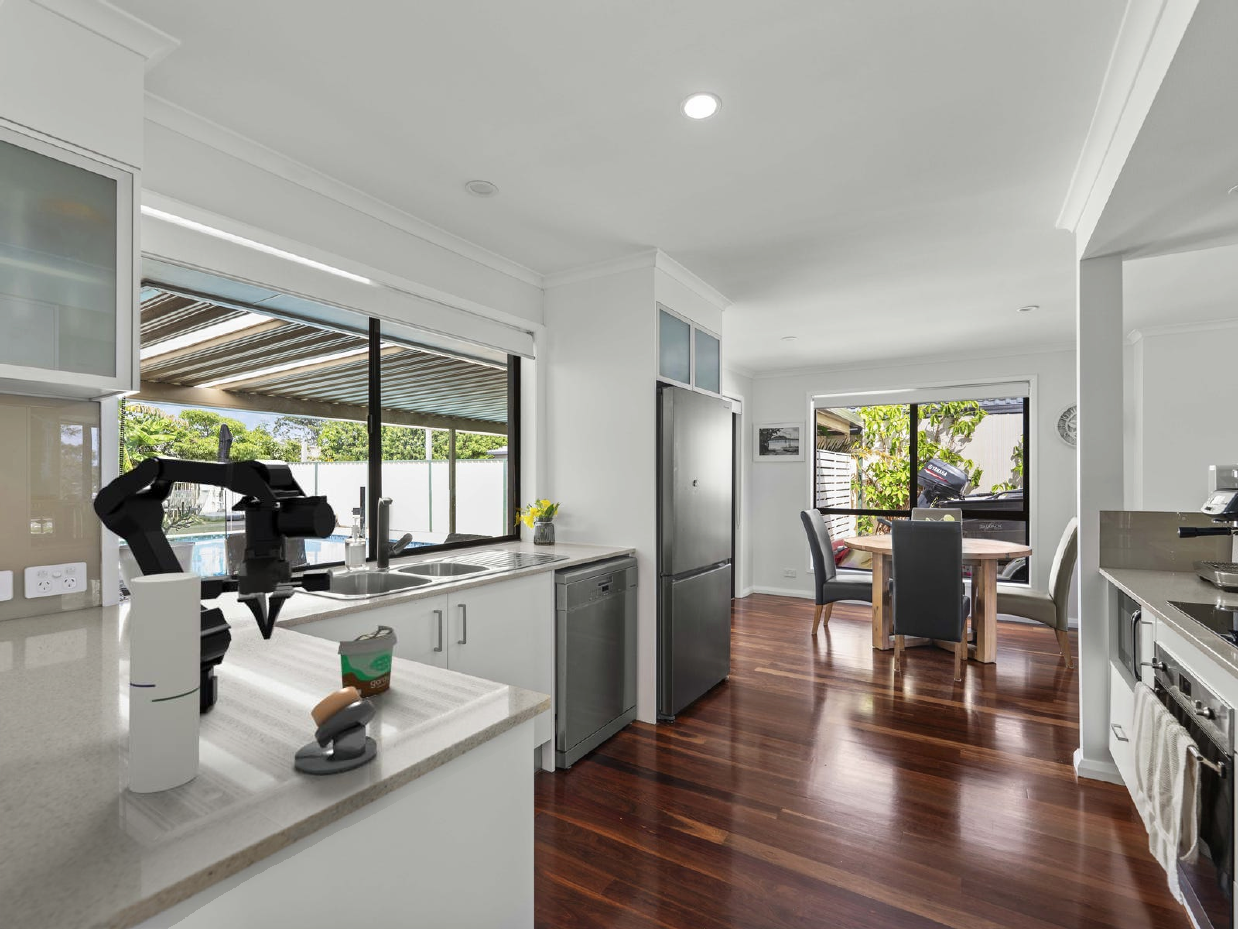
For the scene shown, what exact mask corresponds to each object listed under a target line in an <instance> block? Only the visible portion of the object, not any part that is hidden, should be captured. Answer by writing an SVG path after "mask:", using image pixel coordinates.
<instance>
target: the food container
mask: <svg viewBox="0 0 1238 929" xmlns="http://www.w3.org/2000/svg"><path fill="white" fill-rule="evenodd" d="M377 628H378V629H377V630H376V631H374V632H372V633H369V634H362V635H360V636H358V637H357V638H355V639H353V640H350V641H349V640H348V641H346V640H340V641H339V645H338V651H337V655H340V670H341V684H342V685H341V686H342V688H341V689H343V688H346V687H355V689H356V690H357V692H358V694H359V695H360V697H361V698H364V699H368V698H367V697H370V698H372V697H371V696H374V695H378V696H379V695H382V694H381V693H383V692H385V691H386V692H387V690H388V689H389V690H390V686H391V674H392V661H393V653H394V652H393V650H394V646H395V645H396V644H398V639H397V635H396V634H397V633H396V632H395V630H394V628H393V627H391V626H388V625H380V624H378V626H377ZM389 690H388V691H389ZM386 692H385V693H386ZM383 694H384V693H383ZM374 697H375V696H374Z"/></svg>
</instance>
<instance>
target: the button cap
mask: <svg viewBox="0 0 1238 929" xmlns="http://www.w3.org/2000/svg"><path fill="white" fill-rule="evenodd" d="M361 700H363V699H361V697H360V695H359V694H358V692H357V690H356V689H355V687H346V688H341V689H338V690H337V691H335V692H333V693H331V694H329V695H328V696H326V697H325V698H324V699H322V700H320V701H319V703H317V705H315V706H314V708H312V711H311V712H310V715H311V717H312V719H313V721H314V723H315V725H316V726H317V729H318V728H319V727H320V726H321V725H322V724H323V723H324V722H325V721H326V720H328V719H329V718H330V717H331V716H333V715H334V714H336V713H337V712H339V711H340V710H342V709H344V708H345V707H347V706H349V705H351V704H353V703H356V702H358V701H361Z"/></svg>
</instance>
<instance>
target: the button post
mask: <svg viewBox="0 0 1238 929" xmlns="http://www.w3.org/2000/svg"><path fill="white" fill-rule="evenodd" d="M376 714H377V710H376V708H375V706H374V705H373V703H372V702H371V700H370V699H362V700H361V701H358V702H356V703H353V704H351V705H349V706H347V707H345V708H344V709H342V710H340V711H339V712H337V713H336V714H334V715H333V716H331V717H330V718H329V719H328V720H326V721H325V722H324V723H323V724H322V725H321V726H320V727H319V728H318V727H317V729H316V731H315V733H314V737H315V739H316V740H314V741H312V742H309V743H307V744H306V745H304V746H302V747H301V748H300V749H299V750H297V751H296V753H295V755H294V767H295V769H296V770H297V772H300V773H302V774H306V775H309V776H310V775H312V776H328V775H335V774H336V775H337V774H340V773H345V772H350V771H353V770H355V769H358V768H360V767H362V766H364V765H367V764H368V763H369V762H370V761H372V760H373V759H374V758H375V756H376V755H377V749H378V748H377V741H376V739H374V738H373V737H371V736H368V735H367V727H366V726H367V725H368V724H369V723H370V722H371V721H372V720H373V719H374V718H375V716H376Z"/></svg>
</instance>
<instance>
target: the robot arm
mask: <svg viewBox="0 0 1238 929" xmlns="http://www.w3.org/2000/svg"><path fill="white" fill-rule="evenodd" d="M175 483H185V484H194V485H206V486H216V487H221V488H225V489H226V490H229V491H230V492H232V493H236V494H240V495H242V496H241V499H239V501H237V502H236V503H235V504H234V505H232V506H231V511H233V512H244V546H245V547H244V555H243V556H244V558H243V561H242V563H241V565H240V567H239V570H238V572H237V574H236V575H237V579H232V576H231V575H230V574H227V575H215V576H205V577H203V578H201V601H205V600H206V601H208V600H217V599H218V598H219V597H220V596H221V595H222V594H225V593H237V594H238V598H237V599H236V602H237V603H238V604H239V603H241V604H242V603H243V604H245V605H246V607H248V608H249V610H250V612H251V613H252V615H253V617H254V619H255V621H256V624H257V626H258V629H259V630H260V634H261V636H262V638H263V640H264V641H265V640H270V639H272V635H273V633H274V630H275V628H276V624H277V621H278V618H279V615H280V612H281V610H282V608H283V606H284V604H285V603H286V600H289V599H291V598H292V597H293V596H294V595H295V593H296V590H295V588H302V589H303V590H305V591H306V592H307V593H315V592H326V591H328V592H329V591H330V590H331V589H332V588H333V586H334V573H333V571H332V570H331V569H329V568H325V569H323V568H322V569H311V570H310V569H309V570H308V569H307V570H306V571H304V572H303V574H302V575H293V565H292V560H291V558H289V557H288V548H287V547H288V545H287V543H288V542H287V540H288V539H289V540H326V539H328V538H330V537H331V536H332V534H333V533H334V531H335V528H336V525H337V524H336V522H337V516H336V514H335V511H334V509H333V507H332V505H331V504H330V503H328V496H327V494H322V495H321V494H320V495H310V496H307V494H306V493H305V492H304V490H303V488H302V487H301V486H300V485H299V483H298V482H297V480H296V479H295V477H294V476H293V472H292V470H291V468H290V467H289V464H288V463H287V462H285V461H282V460H280V459H279V460H277V459H276V460H274V459H273V460H271V459H270V460H268V459H246V460H237V461H236V460H235V461H231V462H219V461H209V460H208V461H207V460H195V459H184V458H178V457H176V456H175V457H174V456H166V455H165V456H161V455H158V456H157V455H154V456H149V457H147V458H145V459H143V460H142V461H141V462H140V463H139V464H138V465H137V466H136V467H134V468H132V469H130V470H128V471H126V472H125V473H123V474H121V475H119V476H117V477H115V478H114V479H112V480H111V481H110V482H109V483H108V484H107V485H106V486H104V487H102V488H101V489H100V490H99V491H98V493H97V495H96V497H95V498H94V501H93V504H92V505H93V509H94V512H95V514H96V515H97V517H98V518H99V519H100V521H101V523H102V524H103V525H104V526H105V528H106V529H107V530H109V531H110V532H111V533H113V534H115V535H116V536H118V537H119V538H120V539H122V540H124V541H125V542H126V544H127V545H128V547H129V550H130V551H131V553H132V555H133V557H134V560H135V561H136V563H137V565H138V567H139V568H140V571H141V573H142V575H143V576H148V575H156V574H167V573H185V571H184V570H183V568H182V566H181V565H182V564H180V561H179V559H178V558H177V556H176V554H175V552H174V550H173V548H172V547H171V546H172V545H171V544H170V542H169V539H168V538H167V537H166V534H165V532H164V530H163V528H162V527H163V522H164V518H165V509H164V506H163V503H164V502H165V501H166V500H167V499H168V498H169V497H170V496H171V495H172V492H173V489H174V485H175ZM271 593H272V594H271ZM266 594H271V595H269V597H268V608H267V597H266ZM267 609H268V610H267ZM231 628H232V626H231V625H230V624H229V623H228V621H227V620H226V618H225V616H224V612H223V610H222V609H221V608H220V607H219V606H216V607H213V608H208V607H206V606H204V605H203V604H202V603H201V614H200V715H205V714H207V713H208V712H209V711H210V710H211V708H212V707H214V705H215V704H216V702H217V701H218V681H219V680H218V676H217V675H215V674H214V673H215V667H216V666H219V665H221V664H223V661H224V658H225V655H226V653H227V651H228V650H229V648H230V645H231V642H232V634H231V632H230V629H231Z"/></svg>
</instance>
